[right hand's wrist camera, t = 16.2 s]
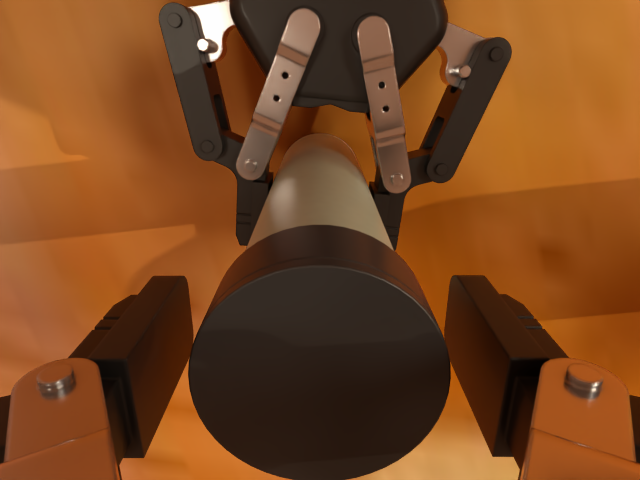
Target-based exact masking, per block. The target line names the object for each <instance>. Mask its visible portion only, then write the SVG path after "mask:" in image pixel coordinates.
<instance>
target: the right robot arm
mask: <svg viewBox="0 0 640 480" xmlns="http://www.w3.org/2000/svg"><path fill="white" fill-rule="evenodd" d="M444 339H445V343H446V346H447V349H448V354H449V359H450V362H451V364H452V366H453V368H454V371H455V373H456V375H457V378H458V380H459V382H460V384H461V387H462V389H463V391H464V393H465V396H466V398H467V400H468V402H469V405H470V407H471V409H472V411H473V414H474V416H475V418H476V420H477V423H478V425H479V427H480V429H481V432H482V434H483V436H484V438H485V441H486V443H487V445H488V447H489V450H490V452H491V454H492V456H493V457H514V459H515V461H516V463H517V465H518V467H519V469H520V472H519V476H518V480H640V397H637V396H632V395H629V392H628V389H627V387H626V385H625V384H624V383H623V382H622V381H621V380H620V379H619V378H618V377H617V376H616V375H614V374H613V373H611V372H610V371H608V370H606V369H604V368H602V367H600V366H598V365H596V364H593V363H590V362H587V361H583V360H579V359H573V358H569V357H568V356H567V355H566V354H565V353H564V351H563V350H562V349H561V348H560V347H559V346H558V344H557V343H556V342H555V341H554V340H553V339H552V337H551V336H550V335H549V334H548V333H547V332H546V330H545V329H542V326H541V325H540V323H539V322H538V321H537V320H536V319H534V316H533V315H532V314H531V313H530V312H529V311H528V309H527V308H526V307H525V306H524V305H523V304H521V303H520V302H518V301H516V300H515V299H513V298H511V297H510V296H508V295H506V294H499V293H498V292H497V291H496V290H495V288H494V287H493V286H492V284H491V283H490V282H489V281H488V279H487V278H486V277H485V276H483V275H454V276H452V278H451V281H450V286H449V294H448V303H447V312H446V321H445V330H444ZM192 345H193V324H192V316H191V307H190V298H189V289H188V283H187V279H186V278H185V276H153V277H152V278H151V279H150V280H149V282H148V283H147V284H146V285H145V287H144V288H143V289H142V290H141V292H140V293H139V294H138V295H130V296H129V297H127V298H125V299H124V300H122V301H120V302H118V303H117V304H115V305H114V306H113V307H112V308H111V309H110V310H109V311H108V313H107V314H106V315H105V316H104V317H103V320H101V321H100V322H99V323H98V324H97V325H96V326H95V330H92V331H91V332H90V333H89V334H88V336H87V337H86V338H85V339H84V340H83V341H82V342H81V344H80V345H79V346H78V347H77V348H76V349H75V351H74V352H73V353H72V354H71V355H70V356H69V357H68V358H67V359H61V360H57V361H53V362H50V363H47V364H44V365H42V366H40V367H38V368H36V369H34V370H32V371H30V372H29V373H27V374H26V375H24V376H23V377H22V378H21V379H20V380H19V381H18V382H17V383H16V384H15V385H14V387H13V389H12V392H11V395H9V396H4V397H0V480H122V476H121V472H120V467H119V465H120V463H121V461H122V459H123V458H144V457H145V455H146V452H147V450H148V448H149V446H150V444H151V441H152V439H153V437H154V435H155V432H156V430H157V428H158V426H159V424H160V421H161V419H162V417H163V415H164V412H165V410H166V408H167V406H168V404H169V401H170V399H171V397H172V395H173V393H174V390H175V388H176V386H177V384H178V381H179V379H180V377H181V375H182V373H183V370H184V368H185V366H186V364H187V362H188V359H189V357H190V354H191V349H192Z"/></svg>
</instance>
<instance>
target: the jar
mask: <svg viewBox="0 0 640 480" xmlns="http://www.w3.org/2000/svg"><path fill="white" fill-rule="evenodd" d="M306 225H334V226H341V227H346V228H350V229H354V230H357V231H360V232H362V233H365V234H367V235H370V236H372V237H374V238H376V239H377V240H379V241H381V242H383V243H384V244H386V245H387V246H388V247H390V248H391V249H392V250H393V247H392V245H391V242H390V240H389V237H388V235H387V232H386V230H385V227H384V225H383V222H382V220H381V217H380V215H379V212H378V210H377V207H376V205H375V203H374V200H373V198H372V195H371V193H370V190H369V188H368V185H367V183H366V180H365V178H364V175H363V173H362V170H361V168H360V165H359V163H358V160H357V158H356V156H355V154H354V152H353V150H352V149H351V148H350V147H349V145H348V144H346V143H345V142H344V141H343V140H341V139H340V138H338V137H336V136H333V135H330V134H325V133H315V134H310V135H307V136H304V137H302V138H300V139H299V140H297V141H296V142H294V143H293V144H292V145H291V146H290V148H289V149H288V150H287V152H286V153H285V155H284V157H283V160H282V162H281V165H280V167H279V170H278V172H277V175H276V177H275V179H274V182H273V184H272V187H271V189H270V192H269V194H268V197H267V199H266V201H265V204H264V206H263V209H262V211H261V214H260V216H259V219H258V221H257V224H256V226H255V228H254V231H253V233H252V236H251V238H250V241H249V243H248V246H247V248H246V250H247V249H248V248H250V247H251V246H252V245H254V244H255V243H256V242H258V241H260V240H262V239H264V238H266V237H267V236H269V235H271V234H274V233H277V232H279V231H282V230H285V229H289V228H293V227H298V226H306ZM246 250H245V251H246ZM393 251H394V250H393Z"/></svg>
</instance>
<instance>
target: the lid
mask: <svg viewBox="0 0 640 480" xmlns="http://www.w3.org/2000/svg"><path fill="white" fill-rule="evenodd" d="M188 378H189V387H190V392H191V396H192V400H193V403H194V406H195V408H196V410H197V413H198V415H199V417H200V419H201V420H202V422H203V424H204V425H205V427H206V428H207V430H208V431H209V432H210V433H211V435H212V436H213V437H214V438H215V439H216V441H218V442H219V443H220V444H221V445H222V446H223V447H224V448H225V449H226V450H227V451H229V452H230V453H231V454H233V455H234V456H235V457H237V458H238V459H240V460H242V461H243V462H245V463H247V464H249V465H250V466H252V467H254V468H257V469H259V470H261V471H264V472H266V473H269V474H272V475H276V476H279V477H283V478H288V479H292V480H346V479H352V478H357V477H360V476H363V475H367V474H370V473H373V472H375V471H378V470H380V469H383V468H385V467H387V466H389V465H390V464H392V463H394V462H396V461H398V460H399V459H401V458H402V457H404V456H405V455H406V454H408V453H409V452H411V451H412V450H413V449H414V448H415V447H416V446H417V445H418V444H420V443H421V442H422V440H423V439H424V438H425V437H426V436H427V435H428V434H429V432H430V431H431V430H432V428H433V427H434V425H435V424H436V422H437V421H438V419H439V417H440V415H441V413H442V411H443V408H444V406H445V403H446V400H447V396H448V393H449V386H450V379H451V372H450V359H449V354H448V349H447V346H446V343H445V340H444V337H443V335H442V333H441V330H440V328H439V326H438V324H437V322H436V319H435V317H434V315H433V313H432V311H431V309H430V306H429V304H428V302H427V300H426V298H425V295H424V293H423V291H422V289H421V287H420V285H419V283H418V281H417V279H416V277H415V275H414V273H413V272H412V270H411V269H410V268H409V266H408V265H407V264H406V262H405V261H404V260H403V259H402V258H401V257H400V256H399V255H398V254H397V253H396V252H395V251H393V250H392V249H391V248H390V247H388V246H387V245H386V244H384V243H383V242H381V241H379V240H377V239H376V238H374V237H372V236H370V235H367V234H365V233H362V232H360V231H357V230H354V229H350V228H346V227H341V226H334V225H306V226H298V227H293V228H289V229H285V230H282V231H279V232H277V233H274V234H271V235H269V236H267V237H266V238H264V239H262V240H260V241H258V242H256V243H255V244H254V245H252V246H251V247H250V248H248V249H247V250H246V251H244V252H243V253H242V254H241V255H240V256H239V257H238V258H237V259H236V260H235V261H234V263H233V264H232V265H231V267H230V268H229V269H228V270H227V272H226V274H225V276H224V277H223V279H222V281H221V283H220V285H219V287H218V289H217V291H216V294H215V296H214V298H213V300H212V302H211V304H210V307H209V309H208V311H207V313H206V315H205V317H204V320H203V322H202V324H201V326H200V328H199V330H198V332H197V335H196V338H195V340H194V343H193V345H192V349H191V354H190V358H189V370H188Z"/></svg>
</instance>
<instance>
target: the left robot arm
mask: <svg viewBox="0 0 640 480" xmlns="http://www.w3.org/2000/svg"><path fill="white" fill-rule="evenodd" d="M159 23H160V27H161V31H162V34H163V38H164V42H165V45H166V49H167V53H168V56H169V60H170V64H171V67H172V71H173V75H174V79H175V82H176V86H177V90H178V93H179V97H180V101H181V104H182V108H183V112H184V115H185V119H186V123H187V127H188V130H189V134H190V138H191V141H192V145H193V149H194V151H195V153H196V155H197V156H198V157H199V158H201V159H203V160H206V161H212V160H213V161H215V162H217V163H219V164H221V165H224V166H226V167H228V168H229V169H230V170H231V171H232V172H233V173H234V174H235V176H236V179H237V215H236V236H237V239H238V241H239V244H240V245H244V246H248V243H249V241H250V238H251V236H252V233H253V231H254V228H255V226H256V224H257V221H258V219H259V216H260V214H261V211H262V209H263V206H264V204H265V201H266V199H267V197H268V194H269V192H270V189H271V187H272V184H273V172H269V161H270V159H271V157H272V154H273V152H274V149H275V147H276V144H277V142H278V139H279V137H280V135H281V132H282V130H283V127H284V125H285V123H286V120H287V118H288V115H289V113H290V111H291V108H292V106H299V107H309V108H312V107H317V106H323V105H329V104H331V105H334V106H337V107H339V108H342V109H345V110H347V111H350V112H361V113H365V118H366V123H367V128H368V132H369V135H370V140H371V145H372V150H373V155H374V161H375V166H376V175H375V182H369V190H370V193H371V195H372V198H373V200H374V203H375V205H376V207H377V210H378V212H379V215H380V217H381V220H382V222H383V225H384V227H385V230H386V232H387V235H388V237H389V240H390V242H391V245H392V247H393V250H394V251H395V250H396V246H397V240H398V234H399V228H400V222H401V216H402V209H403V203H404V198H405V196H406V194H407V192H408V191H409V190H410V189H411V188H413V187H414V186H416V185H420V184H424V183H428V182H432V181H434V182H436V183H444V182H447V181H448V180H450V179H451V178H452V177H453V175H454V173H455V171H456V169H457V167H458V165H459V163H460V161H461V159H462V157H463V155H464V153H465V151H466V149H467V147H468V145H469V143H470V141H471V139H472V136H473V134H474V132H475V130H476V128H477V126H478V124H479V122H480V120H481V118H482V116H483V114H484V112H485V110H486V108H487V106H488V104H489V102H490V99H491V97H492V95H493V93H494V91H495V89H496V87H497V85H498V83H499V81H500V79H501V77H502V75H503V73H504V71H505V69H506V67H507V65H508V62H509V60H510V58H511V53H512V51H511V46H510V44H509V42H508V41H507V40H505V39H504V38H501V37H495V38H483V37H481V36H479V35H476V34H474V33H472V32H469V31H467V30H465V29H462V28H460V27H458V26H455V25H453V24H451V23H448V14H447V9H446V7H445V4H444V0H224V1H219V2H214V3H209V4H204V5H199V6H193V7H185V6H183V5H181V4H178V3H168V4H166V5H165V6H164V7H163V8H162V9H161V11H160V14H159ZM234 28H237V29H238V31H239V33H240V34H241V36H242V38H243V39H244V41H245V43H246V44H247V46H248V48H249V49H250V51H251V53H252V54H253V56H254V58H255V60H256V61H257V63H258V65H259V66H260V68H261V70H262V71H263V73H264V75H265V76H266V78H267V79H266V82H265V84H264V87H263V90H262V92H261V95H260V98H259V100H258V103H257V106H256V108H255V111H254V114H253V117H252V121H251V125H250V127H249V130H248V133H247V135H246V138H244V137H242V136H240V135H238V134H236V133H233V132H231V128H230V123H229V119H228V115H227V111H226V107H225V102H224V98H223V94H222V90H221V86H220V81H219V77H218V73H217V69H216V65H215V62H218V61H220V60H222V59H223V58H224V56H225V54H226V51H227V45H226V40H227V36H228V34H229V32H230V31H231V30H233V29H234ZM435 49H437V50H438V51H439V53H440V55H441V58H442V64H441V68H440V78H441V80H442V81H443V83H445V84H446V85H448V86H447V88H446V90H445V92H444V95H443V97H442V99H441V101H440V104H439V106H438V108H437V110H436V112H435V115H434V117H433V119H432V121H431V124H430V126H429V128H428V130H427V132H426V135H425V137H424V139H423V141H422V144H421V146H420V148H419V150H415V151H411V152H407V149H406V143H405V125H404V119H403V113H402V107H401V101H400V95H399V89H400V88H401V87H402V86H403V84H404V83H405V82H406V81H407V80H408V79H409V78H410V77H411V75H412V74H413V73H414V72H415V71H416V70H417V69H418V68H419V66H420V65H421V64H422V63H423V62H424V61H425V60H426V59H427V58H428V56H429V55H430V54H431V53H432V52H433V51H434V50H435Z"/></svg>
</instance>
